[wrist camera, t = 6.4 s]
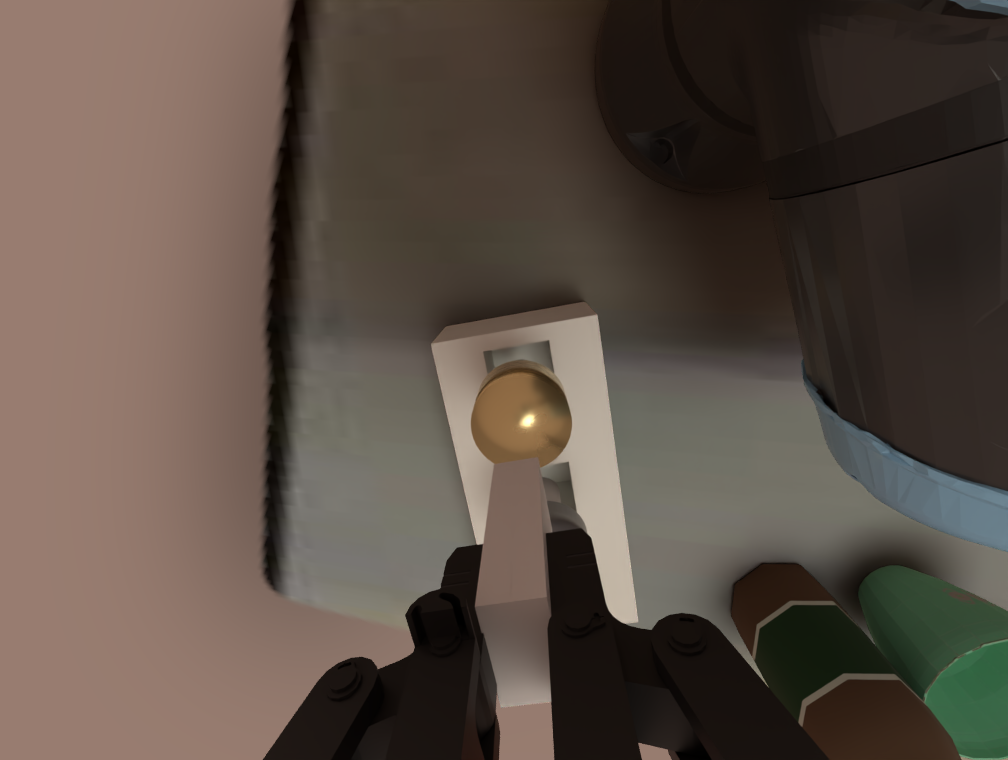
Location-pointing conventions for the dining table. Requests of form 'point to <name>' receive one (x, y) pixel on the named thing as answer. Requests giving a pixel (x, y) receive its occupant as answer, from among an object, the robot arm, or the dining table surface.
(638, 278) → the dining table surface
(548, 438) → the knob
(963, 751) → the mug
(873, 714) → the beer bottle
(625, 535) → the panel
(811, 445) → the dining table surface
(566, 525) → the knob mid
